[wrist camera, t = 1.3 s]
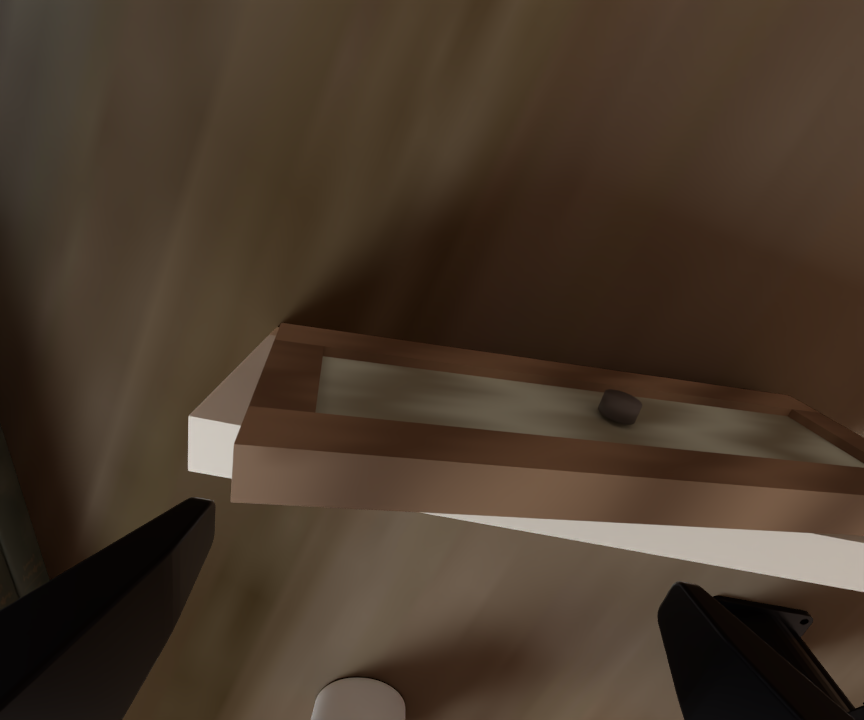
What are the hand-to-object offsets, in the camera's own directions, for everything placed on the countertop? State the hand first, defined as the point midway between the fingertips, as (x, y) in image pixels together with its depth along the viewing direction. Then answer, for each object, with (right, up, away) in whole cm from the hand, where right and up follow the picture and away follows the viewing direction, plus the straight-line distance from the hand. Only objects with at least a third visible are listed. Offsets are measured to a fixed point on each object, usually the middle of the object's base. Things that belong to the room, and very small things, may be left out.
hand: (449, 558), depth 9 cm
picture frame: (+6, +2, +6) cm, 9 cm away
